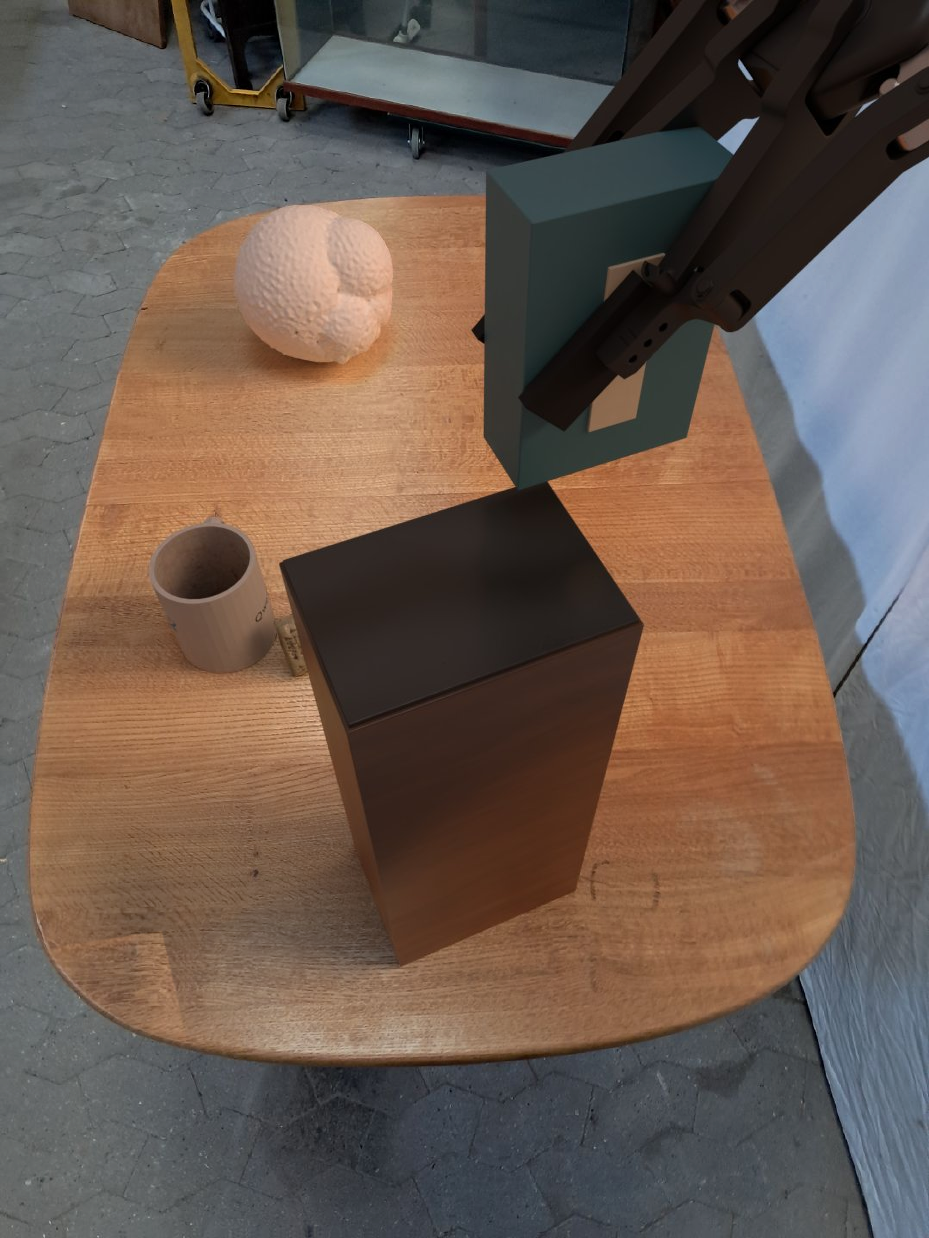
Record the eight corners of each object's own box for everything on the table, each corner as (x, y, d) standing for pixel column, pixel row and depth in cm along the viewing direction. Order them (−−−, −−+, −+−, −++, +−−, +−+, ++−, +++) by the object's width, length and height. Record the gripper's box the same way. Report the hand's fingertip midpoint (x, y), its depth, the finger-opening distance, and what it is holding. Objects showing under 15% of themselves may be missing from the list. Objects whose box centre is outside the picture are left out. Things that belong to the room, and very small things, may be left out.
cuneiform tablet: (429, 647, 81) (302, 700, 77) (408, 618, 84) (285, 667, 80) (419, 587, 76) (283, 640, 72) (398, 558, 79) (266, 608, 76)
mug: (265, 676, 79) (241, 607, 71) (169, 669, 79) (134, 600, 71) (293, 568, 86) (274, 494, 78) (204, 562, 87) (177, 488, 79)
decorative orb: (247, 300, 112) (218, 172, 99) (390, 286, 113) (380, 158, 100) (250, 407, 100) (218, 277, 87) (410, 389, 101) (401, 259, 89)
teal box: (688, 440, 44) (755, 171, 33) (519, 493, 42) (533, 225, 31) (645, 389, 46) (695, 122, 35) (482, 437, 44) (485, 169, 33)
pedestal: (575, 890, 67) (645, 620, 40) (399, 967, 64) (345, 730, 37) (518, 778, 73) (546, 473, 46) (353, 843, 70) (277, 558, 42)
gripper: (1226, 17, 28) (661, 540, 37) (867, -139, 37) (491, 309, 47) (1213, -192, 22) (554, 484, 32) (795, -313, 32) (386, 235, 41)
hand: (517, 379), depth 39 cm, fingers closed on teal box, 4 cm apart
